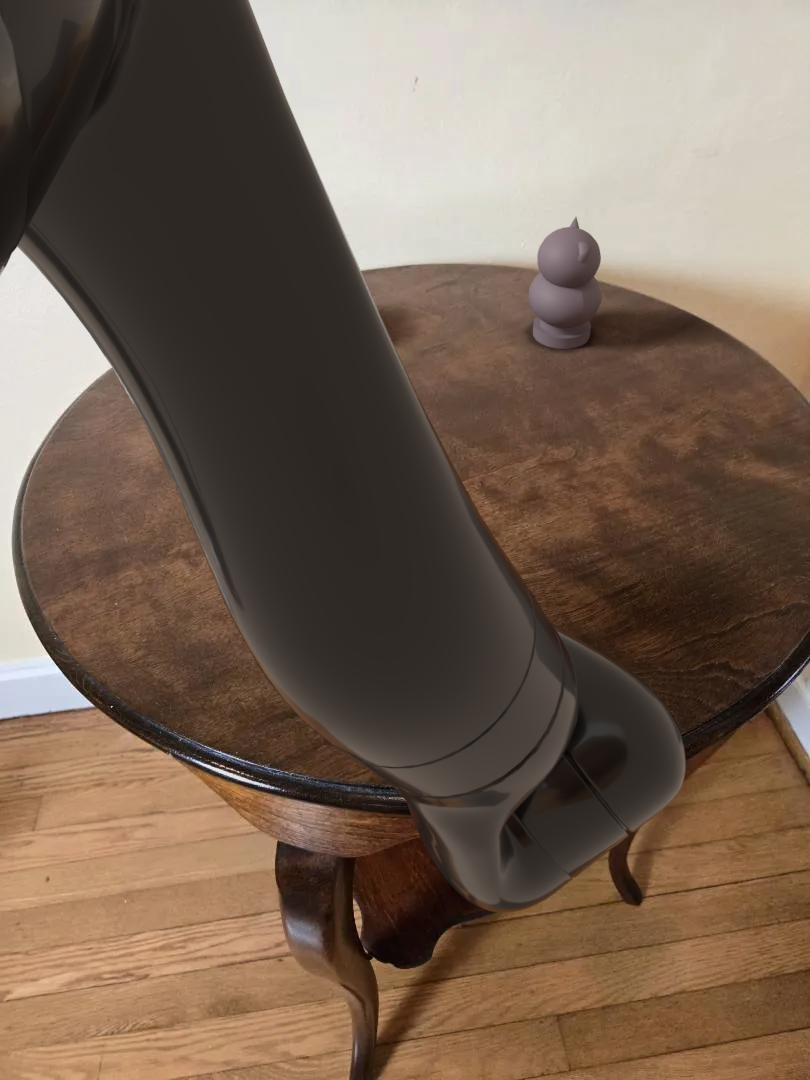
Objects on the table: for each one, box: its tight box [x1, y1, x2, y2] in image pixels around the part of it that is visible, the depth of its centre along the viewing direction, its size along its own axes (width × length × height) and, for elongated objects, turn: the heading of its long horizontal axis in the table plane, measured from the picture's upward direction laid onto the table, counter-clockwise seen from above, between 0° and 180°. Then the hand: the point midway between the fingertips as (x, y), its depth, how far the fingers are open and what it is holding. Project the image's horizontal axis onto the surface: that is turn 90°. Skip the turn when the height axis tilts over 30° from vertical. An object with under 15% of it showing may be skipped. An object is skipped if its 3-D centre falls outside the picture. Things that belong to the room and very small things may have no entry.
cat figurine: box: [528, 216, 603, 350], centre depth 91 cm, size 8×8×12 cm
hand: (247, 367), depth 54 cm, fingers closed on teal block, 5 cm apart
